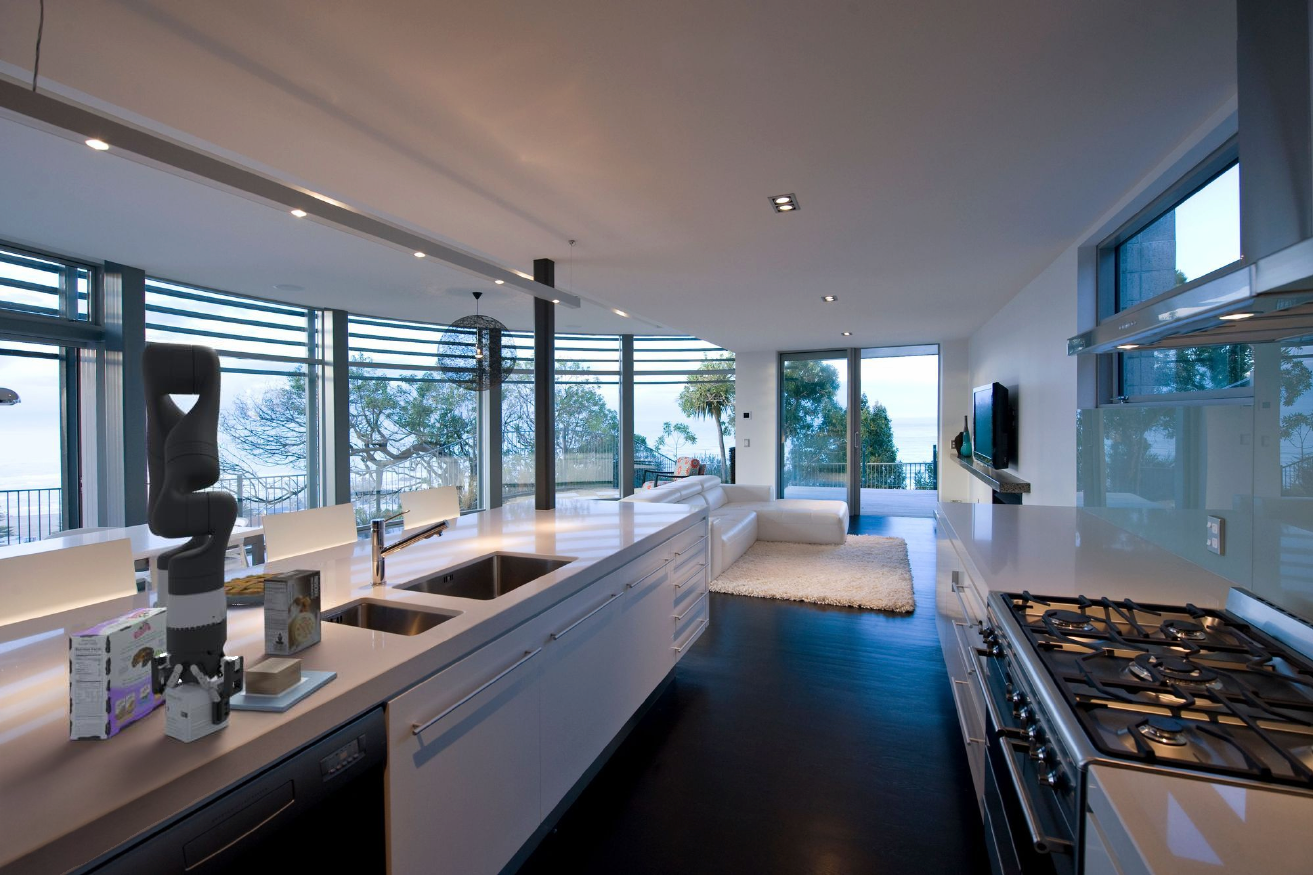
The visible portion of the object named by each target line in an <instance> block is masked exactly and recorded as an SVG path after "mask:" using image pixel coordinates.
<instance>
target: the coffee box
mask: <svg viewBox="0 0 1313 875" xmlns="http://www.w3.org/2000/svg"><path fill="white" fill-rule="evenodd" d="M282 573H283V574H280V575H276V576H273V577H270V578H266V579H263V580H264V604H263V618H264V619H263V620H264V621H263V622H264V623H263V624H264V627H263V628H264V654H267V655H268V654H270V655H279V656H280V655H281V656H290V655H293V654H295V653H297V652H299V651H301V650H303V649H305V648H307V647H310V646H311V645H314V644H316V643H318V642H320V641H322V603H321V600H322V599H321V598H322V597H321V596H322V595H321V591H322V590H321V588H322V587H321V570H317V569H316V570H315V569H300V568H299V569H298V568H297V569H294V570H290V571H288V572H287V571H286V572H282Z"/></svg>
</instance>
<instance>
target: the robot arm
mask: <svg viewBox="0 0 1313 875" xmlns="http://www.w3.org/2000/svg"><path fill="white" fill-rule="evenodd" d="M141 353H142V354H141V360H140V369H141V370H140V371H141V379H142V385H143V393H144V401H145V402H144V403H145V407H146V441H145V442H146V459H147V468H148V469H147V470H148V479H149V480H148V484H149V485H148V499H147V500H148V501H147V512H146V513H147V514H146V515H147V516H146V517H147V524H148V529H149V531H150V533H151V534H152V535H153V536H156V537H161V538H164V539H169V540H171V539H172V540H174V539H186V538H191V539H189V540H187V541H186V542H185V543H183V544H182V545H180V546H178V547H177V546H176V547H175V548H172V549H169V550H167V551H164V552H162V553H161V554H159V555H158V556H157V558H156V597H157V598H156V600H155V601H154V602H153V604H152V608H156V607H166V650H167V652H165V653H163V654H160V655H158V656H155V657H153V658H152V659H151V678H152V693H153V694H154V695H157V694H161V695H162V696H163V698H164V699H165V703H164V705H165V714H166V689H167V688H174V687H176V686H179V685H181V684H183V683H185V684H188V683H195V684H201V686H202V688H203V689H204V690H205V691H208V692H209V693H210V695H211V697H212V699H213V700H214V702H212V724H213V725H219V724H221V723H222V722H224V721H226V720H227V718H228V717H229V716H230V715H231V711H230V710H231V709H230V697H232V696H234V695H235V694H237V693H239V692H241V691H242V690H243V683H244V666H245V664H244V663H245V662H244V656H243V655H242V654H238V655H236V656H226V653H225V652H224V647H225V644H226V643H227V640H228V613H227V612H228V605H227V598H226V593H225V586H224V585H225V582H226V580H225V577H226V576H225V575H226V574H225V572H226V571H225V564H226V556H227V555H226V554H227V550H228V545H229V541H230V538H231V535H232V532H233V529H234V527H235V524H236V521H237V518H238V515H239V505H238V501H237V499H236V497H234V495H233V494H231V493H230V492H228V491H225V490H210V491H208V490H207V491H202V490H206V489H208V488H210V487H212V486H214V485H215V484H217V483H218V482H219V480H220V477H221V467H220V466H221V465H220V457H219V456H220V455H219V445H218V430H219V417H220V407H221V392H222V390H221V387H222V373H221V372H222V370H221V360H220V357H219V354H218V352H217V350H216V349H215V348H213V347H211V346H208V345H202V344H191V343H190V344H189V343H175V342H174V343H172V342H151V343H148V344H147V345H146V346H144V349H143V350H142V352H141ZM171 395H177V396H178V395H180V396H181V395H182V396H184V395H185V396H186V395H187V396H191V395H194V396H198V398H197V400H196V402H195V403H194V404H193V406H192V407H191V409H190V410H189V411H188V412H187V413H186V412H185V411H184V410H183V409H181V408H180V407H179V406H178V405H177V404H176V403H175V401H174V400H173V399H172V397H171ZM173 671H174V672H173ZM162 677H163V680H164V683H163V684H161V679H162ZM214 677H217V680H215V681H210V680H211V679H213V678H214ZM219 684H221V685H222V691H221V692H220V691H219V689H218V688H217V685H219ZM229 718H230V717H229Z"/></svg>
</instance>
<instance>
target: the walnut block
mask: <svg viewBox="0 0 1313 875" xmlns="http://www.w3.org/2000/svg"><path fill="white" fill-rule="evenodd" d="M301 670H302V659H300V658H283V657H269V658H267V659H266V660H264V661H262V662H260V663H259V664H256V665H254V666H252V667H251V668H248V669H247V670H245V672H244V673H245V674H244V676H245V679H244V680H245V682H244V683H245V694H262V695H278V694H280V693H281V692H283V691H285V690H286V689H288V688H290V687H291V686H293V685H295V684H296V683H298V682H300V681H301Z"/></svg>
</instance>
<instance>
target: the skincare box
mask: <svg viewBox="0 0 1313 875" xmlns="http://www.w3.org/2000/svg"><path fill="white" fill-rule="evenodd" d="M215 680H217V676H215V677H214V678H213V679H211V680H210V681H215ZM217 688H218V689H219V691H220V692H221V691H222V685H221V684H219V685H217ZM212 702H214V700H213V699H212V697H211V695H210V693H209V692H208V691H205V690H204V689H203V688H202V686H201V684H195V683H188V684H185V683H183V684H181V685H179V686H176V687H174V688H167V689H166V708H165V709H166V713H165V735H167V736H169V737H172V738H175V739H177V740H180V741H181V742H183V743H185V744H186V743H190V742H194V741H196V740H198V739H201V738H203V737H205V736H207V735H210V734H212V733H215V732H216V731H220V730H221V729H224V728H226V727H228V726H229V725H230V724H229V720H230V719H229V718H230V717H228V718H227V720H226V721H224V722H222V723H221V724H219V725H213V724H212Z"/></svg>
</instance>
